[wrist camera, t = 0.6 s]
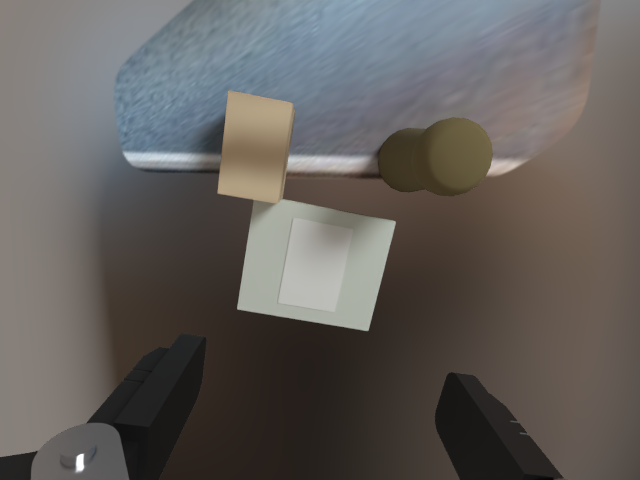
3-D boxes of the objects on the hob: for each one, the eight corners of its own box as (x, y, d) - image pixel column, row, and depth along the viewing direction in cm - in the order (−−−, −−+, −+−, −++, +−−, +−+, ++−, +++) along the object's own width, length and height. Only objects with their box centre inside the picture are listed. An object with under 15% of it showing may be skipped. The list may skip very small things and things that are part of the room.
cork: (370, 184, 31) (403, 193, 20) (387, 121, 30) (432, 95, 19) (428, 198, 32) (490, 214, 21) (447, 136, 30) (523, 120, 20)
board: (255, 193, 31) (254, 194, 30) (393, 220, 32) (396, 222, 31) (238, 306, 33) (236, 309, 33) (366, 327, 35) (368, 331, 34)
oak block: (241, 102, 29) (228, 90, 24) (295, 113, 30) (292, 103, 25) (231, 189, 31) (217, 193, 26) (282, 198, 31) (277, 203, 26)
